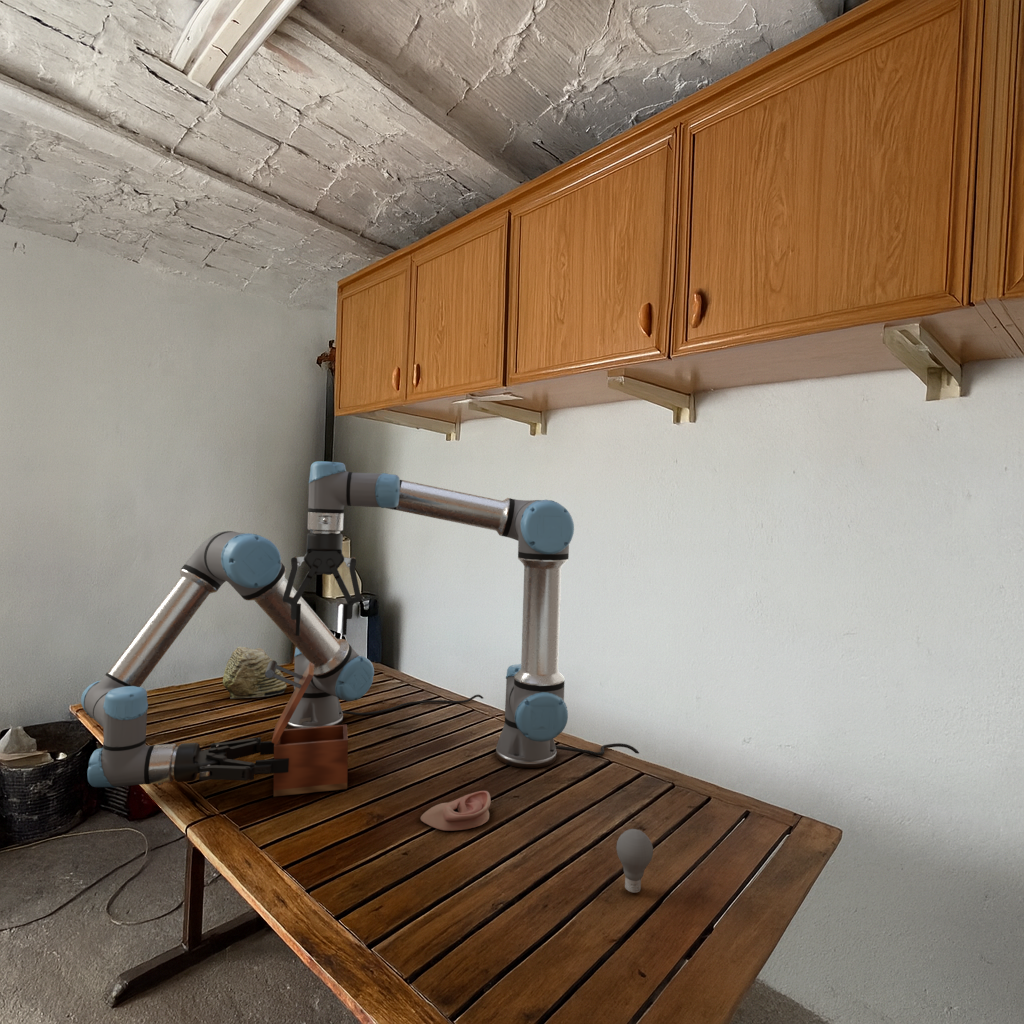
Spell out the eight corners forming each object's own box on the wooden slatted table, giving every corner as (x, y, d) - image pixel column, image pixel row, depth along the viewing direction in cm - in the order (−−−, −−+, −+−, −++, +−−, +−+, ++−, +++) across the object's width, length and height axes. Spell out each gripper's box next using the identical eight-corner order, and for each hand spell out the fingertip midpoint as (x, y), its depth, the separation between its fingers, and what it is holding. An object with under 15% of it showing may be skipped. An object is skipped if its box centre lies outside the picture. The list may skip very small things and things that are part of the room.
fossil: (218, 695, 195) (220, 647, 195) (278, 685, 208) (279, 640, 207) (228, 703, 189) (230, 653, 188) (289, 692, 201) (290, 645, 201)
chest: (346, 769, 146) (346, 724, 146) (347, 788, 137) (348, 740, 137) (276, 776, 142) (277, 729, 142) (273, 796, 133) (273, 746, 133)
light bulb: (610, 879, 108) (613, 822, 108) (644, 879, 109) (647, 822, 109) (619, 902, 102) (622, 840, 102) (655, 901, 103) (658, 840, 103)
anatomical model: (415, 806, 123) (434, 781, 134) (414, 826, 123) (433, 799, 134) (481, 816, 120) (495, 789, 132) (480, 836, 120) (494, 808, 132)
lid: (314, 664, 144) (276, 647, 141) (313, 676, 134) (273, 658, 132) (279, 727, 142) (241, 712, 140) (276, 744, 133) (235, 728, 130)
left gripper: (187, 759, 143) (292, 752, 149) (162, 806, 121) (286, 795, 128) (188, 726, 143) (293, 720, 149) (163, 767, 121) (287, 758, 128)
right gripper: (270, 531, 132) (266, 638, 133) (377, 534, 138) (373, 636, 139) (273, 529, 140) (269, 631, 140) (374, 532, 146) (370, 629, 146)
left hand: (289, 755), depth 138 cm, fingers closed on chest, 10 cm apart
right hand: (321, 633), depth 139 cm, fingers open, 9 cm apart
